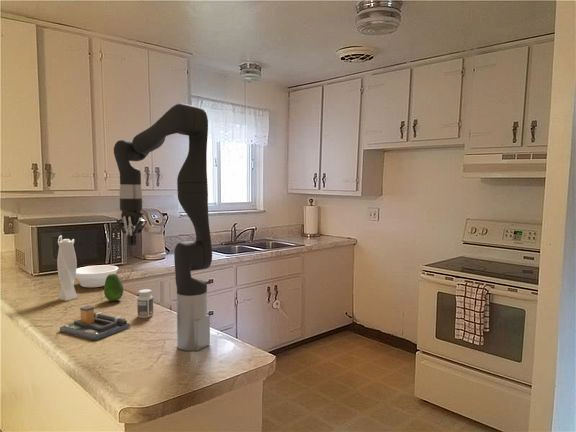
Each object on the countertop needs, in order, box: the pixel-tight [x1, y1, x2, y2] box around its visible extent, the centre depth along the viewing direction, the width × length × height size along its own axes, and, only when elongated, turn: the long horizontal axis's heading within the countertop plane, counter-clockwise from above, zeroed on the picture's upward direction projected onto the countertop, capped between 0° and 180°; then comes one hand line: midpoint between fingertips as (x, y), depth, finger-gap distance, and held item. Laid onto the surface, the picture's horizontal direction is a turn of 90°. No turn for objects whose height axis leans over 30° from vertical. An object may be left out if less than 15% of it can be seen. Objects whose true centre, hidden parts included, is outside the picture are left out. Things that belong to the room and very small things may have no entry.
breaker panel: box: [59, 317, 131, 342], centre depth 141 cm, size 18×14×3 cm
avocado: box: [103, 273, 124, 302], centre depth 175 cm, size 8×8×12 cm
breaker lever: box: [79, 305, 95, 324], centre depth 142 cm, size 3×3×6 cm
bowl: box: [75, 264, 119, 288], centre depth 202 cm, size 21×21×8 cm
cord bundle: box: [94, 311, 128, 325], centre depth 145 cm, size 16×3×2 cm, turn 63°
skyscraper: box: [56, 235, 78, 302], centre depth 177 cm, size 8×8×28 cm
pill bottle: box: [136, 288, 154, 319], centre depth 155 cm, size 6×6×10 cm
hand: (132, 245), depth 145 cm, fingers closed
